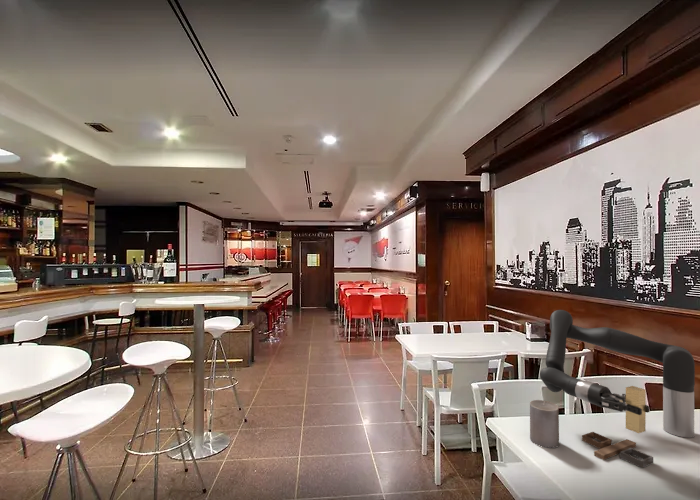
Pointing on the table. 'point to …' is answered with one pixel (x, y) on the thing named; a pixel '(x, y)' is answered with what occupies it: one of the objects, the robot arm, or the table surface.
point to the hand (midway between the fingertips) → (644, 410)
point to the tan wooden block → (637, 399)
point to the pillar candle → (544, 423)
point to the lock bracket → (617, 449)
